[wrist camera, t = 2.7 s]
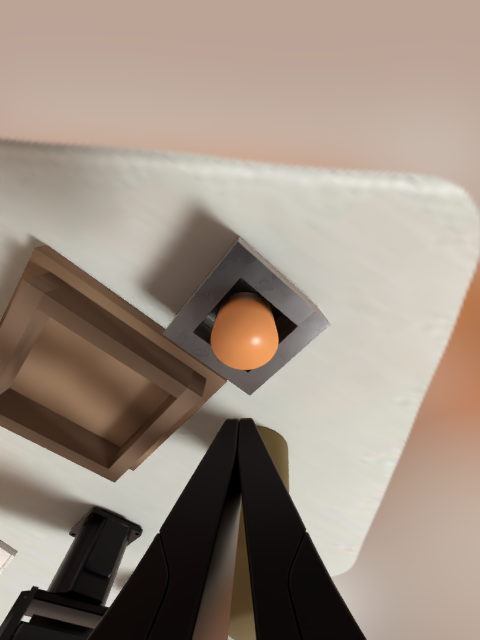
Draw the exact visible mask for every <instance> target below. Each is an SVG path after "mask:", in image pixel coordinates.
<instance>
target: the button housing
mask: <svg viewBox="0 0 480 640" xmlns="http://www.w3.org/2000/svg"><path fill="white" fill-rule="evenodd" d="M240 277H241V278H242V279H243V280H245V281H246V282H247V283H248V284H249V285H250V286H252V287H253V288H254V289H255V290H256V291H258V292H259V293H260V294H261V295H262V296H263V297H265V298H266V299H267V300H268V301H269V302H270V303H272V304H273V305H274V306H275V307H276V308H277V309H279V310H280V311H281V312H282V313H283V315H282V316H281V317H280V318H279V319H278V320H277V321H276V322H275V325H276V329H277V333H278V339H279V341H278V348H277V350H276V353H275V354H274V356H273V357H272V358H271V359H270V360H269V361H268V362H267V363H266V364H264V365H263V366H260V367H258V368H255V369H250V370H240V369H235V368H232V367H229V366H227V365H225V364H224V363H223V362H221V361H220V360H219V359H218V358H217V357H216V355H215V354H214V352H213V349H212V346H211V333H212V330H213V326H214V322H212V321H211V320H210V319H209V318H207V317H206V316H207V315H208V314H209V313H210V312H211V311H212V310H213V308H214V307H215V306H216V305H217V304H218V303H219V301H220V300H221V299H222V298H223V297H224V296H225V295H226V293H227V292H228V291H229V290H230V289H231V288H232V287H233V285H234V284H235V283H236V282H237V281H238V280H239V279H240ZM329 325H330V323H329V322H328V320H327V319H326V318H325V316H324V315H323V314H322V312H321V311H320V310H319V308H318V307H317V306H316V305H315V304H314V303H313V302H312V301H311V300H310V299H308V298H307V297H306V296H305V295H304V294H303V293H302V292H301V291H300V290H299V289H297V288H296V287H295V286H294V285H293V284H292V283H291V282H290V281H289V280H287V279H286V278H285V277H284V276H283V275H282V274H281V273H280V272H279V271H278V270H276V269H275V268H274V267H273V266H272V265H271V264H270V263H269V262H268V261H266V260H265V259H264V258H263V257H262V256H261V255H260V254H259V253H258V252H257V251H255V250H254V249H253V248H252V247H251V246H250V245H249V244H248V243H247V242H246V241H244V240H243V239H242V238H241V237H239V238H238V239H237V240H236V242H235V243H234V244H233V245H232V247H231V248H230V249H229V250H228V251H227V253H226V254H225V255H224V256H223V258H222V259H221V260H220V261H219V263H218V264H217V265H216V266H215V267H214V269H213V270H212V271H211V272H210V274H209V275H208V276H207V277H206V279H205V280H204V281H203V282H202V284H201V285H200V286H199V287H198V288H197V290H196V291H195V292H194V293H193V295H192V296H191V297H190V298H189V300H188V301H187V302H186V303H185V304H184V306H183V307H182V308H181V309H180V311H179V312H178V313H177V314H176V316H175V317H174V319H173V320H172V321H171V323H170V324H169V326H168V327H167V328H166V330H165V331H164V333H163V335H165V336H166V337H168V338H169V339H170V340H172V341H173V342H175V343H176V344H177V345H179V346H180V347H182V348H183V349H185V350H186V351H187V352H189V353H190V354H192V355H193V356H195V357H196V358H197V359H199V360H200V361H202V362H203V363H204V364H206V365H207V366H209V367H210V368H212V369H213V370H214V371H216V372H217V373H219V374H220V375H222V376H223V377H224V378H226V379H227V380H229V381H230V382H231V383H233V384H234V385H236V386H237V387H239V388H240V389H241V390H243V391H244V392H246V393H247V394H249V395H251V394H252V393H253V392H254V391H256V390H257V389H258V388H259V387H260V386H261V385H262V384H264V383H265V382H266V381H267V380H268V379H269V378H270V377H271V376H273V375H274V374H275V373H276V372H277V371H278V370H279V369H281V368H282V367H283V366H284V365H285V364H286V363H287V362H288V361H290V360H291V359H292V358H293V357H294V356H295V355H296V354H298V353H299V352H300V351H301V350H302V349H303V348H304V347H305V346H307V345H308V344H309V343H310V342H311V341H312V340H313V339H315V338H316V337H317V336H318V335H319V334H320V333H321V332H323V331H324V330H325V329H326V328H327V327H328V326H329Z"/></svg>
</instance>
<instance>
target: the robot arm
mask: <svg viewBox="0 0 480 640" xmlns="http://www.w3.org/2000/svg"><path fill="white" fill-rule="evenodd" d="M241 498H242V508H243V517H244V527H245V537H246V546H247V556H248V566H249V575H250V585H251V595H252V604H253V614H254V624H255V633H256V640H366V638H365V636H364V634H363V633H362V631H361V630H360V628H359V626H358V624H357V623H356V621H355V619H354V618H353V616H352V614H351V613H350V611H349V609H348V607H347V605H346V604H345V602H344V600H343V598H342V597H341V595H340V593H339V591H338V590H337V588H336V586H335V584H334V583H333V581H332V579H331V577H330V575H329V573H328V571H327V569H326V567H325V565H324V563H323V562H322V560H321V558H320V556H319V554H318V552H317V550H316V548H315V546H314V544H313V542H312V540H311V538H310V535H309V533H308V532H306V528H305V526H304V523H303V521H302V519H301V517H300V515H299V513H298V511H297V509H296V507H295V505H294V503H293V501H292V499H291V497H290V495H289V493H288V490H287V488H286V486H285V484H284V482H283V480H282V478H281V476H280V474H279V472H278V470H277V468H276V466H275V464H274V462H273V460H272V458H271V455H270V453H269V451H268V449H267V447H266V445H265V443H264V441H263V439H262V437H261V435H260V433H259V431H258V429H257V427H256V425H255V422H254V420H253V419H252V418H241V419H240V421H239V419H227V420H226V421H225V422H224V424H223V426H222V427H221V429H220V431H219V432H218V434H217V435H216V437H215V439H214V440H213V442H212V444H211V445H210V447H209V449H208V450H207V452H206V454H205V455H204V457H203V459H202V460H201V462H200V464H199V465H198V467H197V469H196V470H195V472H194V474H193V475H192V477H191V479H190V480H189V482H188V484H187V485H186V487H185V489H184V490H183V492H182V494H181V495H180V497H179V498H178V500H177V502H176V503H175V505H174V507H173V508H172V510H171V512H170V513H169V515H168V517H167V518H166V520H165V522H164V523H163V525H162V527H161V528H160V533H158V534H157V535H156V536H155V538H154V540H153V541H152V543H151V545H150V546H149V548H148V550H147V551H146V553H145V554H144V556H143V558H142V559H141V561H140V562H139V564H138V566H137V567H136V569H135V570H134V572H133V573H132V575H131V577H130V578H129V580H128V581H127V583H126V584H125V586H124V587H123V588H122V590H121V591H120V593H119V594H118V596H117V597H116V599H115V600H114V602H113V603H112V604H111V606H110V607H105V604H106V601H107V598H108V596H109V593H110V590H111V587H112V585H113V582H114V579H115V577H116V574H117V571H118V568H119V566H120V563H121V560H122V557H123V555H124V552H125V549H126V547H127V546H128V545H129V544H131V543H132V542H133V541H135V540H136V539H137V538H138V537H140V536H141V534H142V531H143V530H142V529H141V528H139V527H137V526H135V525H133V524H130V523H128V522H126V521H124V520H122V519H119V518H117V517H115V516H113V515H111V514H109V513H106V512H104V511H102V510H100V509H97V508H93V509H92V510H91V511H90V512H89V513H88V514H87V515H86V516H84V517H83V518H82V519H81V520H80V521H79V522H78V523H77V524H76V525H75V526H74V527H73V528H72V529H71V531H70V533H69V535H70V536H72V537H75V539H74V541H73V543H72V545H71V546H70V548H69V550H68V552H67V554H66V556H65V558H64V560H63V561H62V563H61V565H60V567H59V569H58V571H57V573H56V575H55V576H54V578H53V580H52V582H51V584H50V586H49V588H48V590H47V591H44V590H41V589H38V588H39V587H35V586H33V587H32V589H31V590H30V591H29V590H28V591H22V592H21V593H20V595H19V597H18V598H17V600H16V602H15V603H14V605H13V607H12V608H11V610H10V612H9V613H8V615H7V617H6V618H5V620H4V622H3V623H2V625H1V626H0V640H227V639H228V629H229V619H230V609H231V600H232V590H233V580H234V570H235V560H236V550H237V540H238V530H239V520H240V510H241ZM24 615H25V616H30V617H32V618H31V619H30V621H29V623H28V622H24V621H21V620H22V618H23V616H24Z"/></svg>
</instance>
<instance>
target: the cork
mask: <svg viewBox="0 0 480 640" xmlns="http://www.w3.org/2000/svg"><path fill="white" fill-rule="evenodd" d="M257 429H258V431H259V433H260V435H261V437H262V439H263V441H264V443H265V445H266V447H267V449H268V451H269V453H270V455H271V458H272V460H273V462H274V464H275V466H276V468H277V470H278V472H279V474H280V476H281V478H282V480H283V482H284V484H285V486H286V488H287V490H288V493H289V467H288V447H287V442H286V441H285V440H284V438H283V437H282V436H281V435H280V434H278V433H277V432H276V431H274V430H271V429H268V428H265V427H257ZM228 635H229V636H230V637H231V638H233V639H234V640H256V633H255V624H254V614H253V604H252V595H251V585H250V575H249V566H248V556H247V546H246V537H245V527H244V517H243V508H242V498H241V510H240V520H239V530H238V540H237V550H236V560H235V570H234V580H233V590H232V600H231V609H230V619H229V629H228Z"/></svg>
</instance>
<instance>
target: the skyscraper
mask: <svg viewBox="0 0 480 640" xmlns="http://www.w3.org/2000/svg"><path fill="white" fill-rule="evenodd" d="M16 553H17V551H15V550H14V549H12V548H11V547H10V546H8V545H7V544H5V543H4V542H2V541H1V540H0V574H1V573H2V571H3V570H4V569H5V568H6V566H7V565H8V564H9V562H10V561H11V560H12V559H13V557H14V556H15V554H16Z"/></svg>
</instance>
